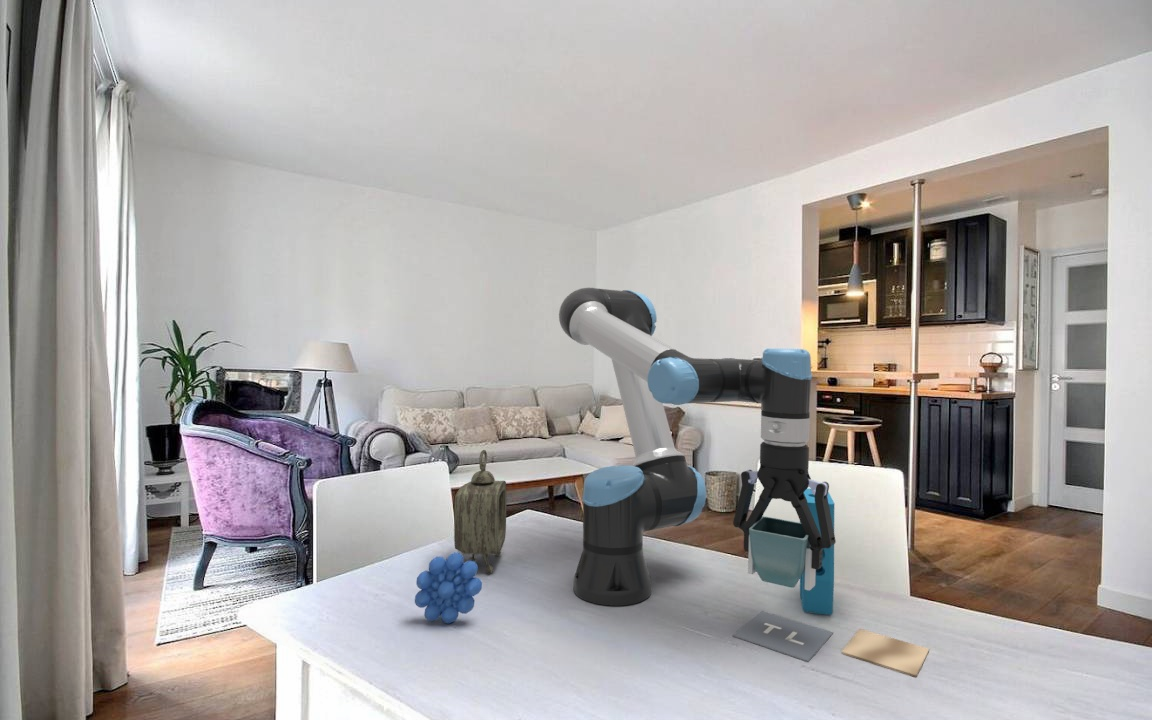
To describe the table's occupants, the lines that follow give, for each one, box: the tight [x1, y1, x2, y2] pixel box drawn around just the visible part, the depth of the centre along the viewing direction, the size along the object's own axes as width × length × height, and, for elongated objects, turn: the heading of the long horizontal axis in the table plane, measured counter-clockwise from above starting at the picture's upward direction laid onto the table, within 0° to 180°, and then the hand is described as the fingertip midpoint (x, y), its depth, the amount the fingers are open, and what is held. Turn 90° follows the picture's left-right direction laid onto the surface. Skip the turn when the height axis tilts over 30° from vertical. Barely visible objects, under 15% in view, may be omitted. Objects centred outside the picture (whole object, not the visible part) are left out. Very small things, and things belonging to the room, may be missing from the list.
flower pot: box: [749, 515, 810, 589], centre depth 94 cm, size 9×9×9 cm
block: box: [799, 488, 835, 616], centre depth 105 cm, size 12×5×20 cm, turn 162°
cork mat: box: [841, 628, 930, 678], centre depth 88 cm, size 10×10×1 cm
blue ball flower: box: [414, 552, 483, 624], centre depth 98 cm, size 12×7×12 cm, turn 85°
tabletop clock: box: [453, 449, 507, 574], centre depth 125 cm, size 14×9×25 cm, turn 179°
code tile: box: [732, 610, 834, 663], centre depth 93 cm, size 12×12×1 cm
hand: (780, 579), depth 94 cm, fingers closed on flower pot, 9 cm apart
